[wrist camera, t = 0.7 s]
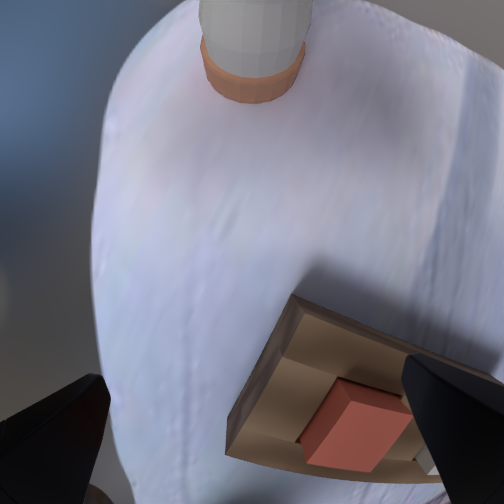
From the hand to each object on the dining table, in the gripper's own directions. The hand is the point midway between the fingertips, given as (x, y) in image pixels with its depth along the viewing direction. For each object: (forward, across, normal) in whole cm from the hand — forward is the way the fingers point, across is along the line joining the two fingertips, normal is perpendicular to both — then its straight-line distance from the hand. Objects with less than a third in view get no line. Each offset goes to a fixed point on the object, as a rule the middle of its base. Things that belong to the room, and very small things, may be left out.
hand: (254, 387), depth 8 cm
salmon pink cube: (+9, -6, +11) cm, 16 cm away
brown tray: (+12, -12, +15) cm, 22 cm away
